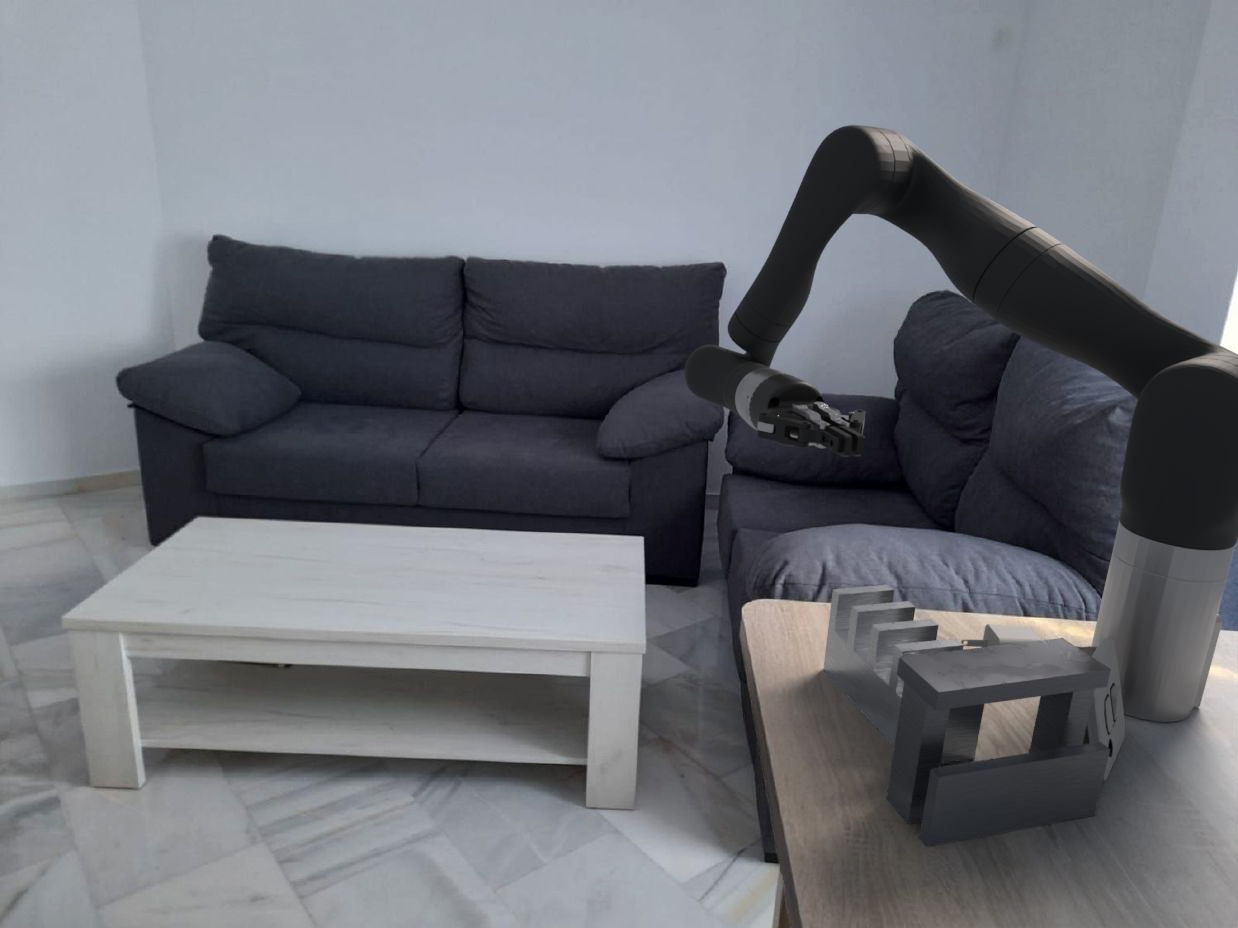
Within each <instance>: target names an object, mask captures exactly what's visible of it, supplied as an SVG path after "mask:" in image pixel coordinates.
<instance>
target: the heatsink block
mask: <svg viewBox="0 0 1238 928" xmlns="http://www.w3.org/2000/svg"><path fill="white" fill-rule="evenodd" d="M894 594H895V589H894V588H893V587H891V586H890V585H888V584H879V585H869V586H867V585H866V586H860V587H859V586H858V587H857V586H856V587H845V588H834V589H832V594H831V595H832V596H831V600H830V601H831V602H830V603H831V604H830V609H829V610H830V611H829V620H828V627H827V628H828V629H827V637H826V643H825V653H824V661H823V669H824V670H825V671H826V672H825V671H824V670H823V669H822V670H823V671H824V672H825V673H826V674H827V675H828V677H830V678H831V679H832V680H833V682H834V683H835V684H836V685H837V686H838V687H839V688H840V689H841V690H842V692H843V693H845V695H846V696H847V698H849V699H850V701H851V702H852V703H854V705H855V706H856V707H857V708H858V709H859V710H860V712H861V713H862V714H863V715H864V716H865V717H866V718H867V719H868V720H869V722H871V724H872V725H873V724H874V725H873V726H875V728H876V729H877V728H878V729H879V730H878V729H877V730H878V731H879V732H880V733H881V735H882V736H883V735H884V736H883V737H884V738H885V739H886V740H887V741H888V742H889V743H890V744H891V746H892V747H893V748H894V745H895V738H896V731H897V725H898V718H899V712H900V705H901V699H902V692H903V685H904V681H903V680H902V679H901V678H900V677H899V676H898V675H897V670H898V663H899V657H905V656H913V655H922V654H930V653H939V652H947V651H956V650H964V647H965V646H964V645H963V644H964V643H963V644H962V643H961V641H960V640H958V639H957V637H956V638H945V639H944V638H943V639H937V637H938V633H939V632H938V631H939V624H938V623H937V622H936V621H934V620H933V619H932V618H927V619H916V620H915V614H916V613H915V612H916V605H914V604H913V603H911V601H910V600H907V601H906V600H905V601H904V600H903V601H896V602H895V601H894V596H895V595H894ZM893 601H894V602H893ZM984 709H985V704H981V705H973V706H966V707H959V708H952V709H950V710H949V716H948V722H947V728H946V734H945V739H944V745H943V751H942V757H941V763H940V764H945V763H953V762H960V761H965V760H966V761H968V760H974V759H975V757H976V753H977V748H978V741H979V737H980V736H979V735H980V730H981V725H982V719H983V713H984Z"/></svg>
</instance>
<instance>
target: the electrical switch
mask: <svg viewBox="0 0 1238 928" xmlns="http://www.w3.org/2000/svg"><path fill="white" fill-rule="evenodd" d="M1075 646H1076V647H1077V648H1079V649H1080V650H1082V651H1083V652H1085V653H1086V654H1088V655H1090V656H1091V657H1093V658H1094V659H1096V660H1097V661H1099V662H1100V663H1102V664H1103V665H1105V666H1106V667H1108V668H1109V669H1111V672H1110V676H1109V680H1108V685H1107V687H1103V688H1096V689H1095V691H1094V695H1093V699H1092V704H1091V708H1090V713H1089V717H1088V722H1087V726H1086V730H1085V735H1084V739H1083V744H1089V743H1096V742H1101V743H1102V744H1104V745H1105V746H1106V747H1108V748H1109V749H1110V753H1109V757H1108V761H1107V765H1106V770H1105V774H1104V778H1103V782H1107V780H1108V777H1109V775H1110V773H1111V771H1112V768H1113V766H1114V764H1115V761H1116V758H1117V756H1118V754H1119V752H1120V749H1121V747H1122V745H1123V742H1124V739H1125V738H1126V723H1125V722H1126V721H1125V713H1124V710H1123V702H1122V694H1121V685H1120V677H1119V669H1118V662H1117V656H1116V649H1115V643H1114V641H1113V640H1111V639H1104V638H1102V640H1101V642H1100V644H1099V645H1098V647H1091V645H1090V646H1077V645H1075ZM1083 744H1082V745H1083Z"/></svg>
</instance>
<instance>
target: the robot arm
mask: <svg viewBox="0 0 1238 928" xmlns="http://www.w3.org/2000/svg"><path fill="white" fill-rule="evenodd" d="M799 184H800V185H799V187H798V189H797V192H796V195H795V197H794V199H793V201H792V203H791V206H790V208H789V210H788V213H787V215H786V216H785V219H784V222H783V224H782V225H781V229H780V231H779V233H778V235H777V237H776V240H775V242H774V244H773V246H772V248H771V250H770V253H769V255H768V257H767V259H766V260H765V262H764V264H763V266H762V267H761V269H760V271H759V272H758V274H757V276H756V277H755V279H754V280H753V282H752V283H751V285H750V287H749V288H748V290H747V291H746V293H745V295H744V296H743V298H742V300H741V301H739V304H738V305H737V307H736V309H735V310H734V312H733V313H732V315H731V316H730V318H729V321H728V323H727V333H728V335H729V338H730V339H731V341H732V342H733V343H734V344H735V345H736V346H737V347H739V348H740V349H742V350H743V351H744V352H745V353H741V352H738V351H734V350H731V349H728V348H725V347H722V346H719V345H716V344H705V345H701V346H699V347H698V348H695V350H693V351H692V352H691V353H690V354H689V357H688V358H687V360H686V362H685V366H684V381H685V384H686V386H687V387H688V389H689V391H690V392H691V393H692V394H693V395H695V396H696V397H698V398H700V399H702V400H704V401H708V402H710V403H712V404H715V405H718V406H721V407H723V408H725V409H727V410H729V411H731V412H732V413H733V414H734V415H736V416H737V417H738V418H741V419H742V420H744V422H746V423H747V424H748V425H749V427H751V428H752V429H754V430H756V437H757V438H760V439H766V440H770V441H773V442H775V443H776V444H778V445H780V446H785V447H795V446H796V447H799V448H803V449H805V448H809V446H815V448H818V449H828V450H830V451H831V452H833V453H835V454H837V455H838V456H840V457H842V458H843V457H850V456H852V457H861V456H862V455H863V452H864V451H865V444H866V436H865V435H864V429H865V421H866V413H867V411H865V410H864V409H854V411H849V412H848V415H846V414H842V413H841V411H840V410H839V409H837V408H835V407H831V406H829V405H828V404H827V403H826V401H825V400H824V398H823V396H822V394H821V392H820V391H819V390H818V389H817V388H816V387H815V385H813V384H811V383H809V382H807V381H804V380H803V379H800V378H799V377H796V376H794V375H793V374H790V373H787V372H785V371H784V370H783V371H782V370H779V369H775V368H772V367H771V364H772V362H773V361H774V357H775V354H776V352H777V349H778V347H779V345H780V344H781V342H782V341H783V339H784V338H785V336H787V333H788V332H789V331H790V329H791V328H792V327H793V325H794V324H795V322H796V321H797V319H798V318H799V316H800V314H801V313H802V312H803V310H804V307H805V306H806V304H807V302H808V300H809V297H810V295H811V291H812V287H813V282H814V277H815V273H816V270H817V266H818V262H819V261H820V258H821V256H822V254H823V252H824V250H825V248H826V246H827V245H828V243H829V242H830V241H831V239H832V238H833V237H834V235H835V234H836V233H837V231H839V229H840V228H841V227H842V226H843V225H844V224H845V223H846V222H847V221H848V220H849V219H850V217H851V216H852V215H871V216H873V217H874V216H875V217H878V218H880V219H883V220H884V221H886V222H889V223H890V224H892V225H893V226H895V227H897V228H899V229H901V230H902V231H904V232H905V233H906V234H909V235H910V236H912V237H913V238H915V239H916V240H917V241H919V242H920V243H921V244H922V245H923V246H925V247H926V248H927V249H928V251H929V252H930V253H931V254H932V255H933V257H934V258H935V259H936V262H938V264H939V265H940V267H941V269H942V271H943V273H945V275H946V276H947V278H948V279H949V281H950V282H951V284H953V286H954V287H955V288H956V290H958V292H960V293H961V295H963V296H964V297H965V298H966V299H967V300H968V301H970V303H972V304H973V305H975V306H976V307H978V308H979V310H981V311H982V312H984V313H985V314H987V315H988V316H989V317H991V318H992V319H994V320H995V321H996V322H997V323H999V324H1000V325H1002V326H1004V327H1005V328H1007V329H1008V330H1010V331H1011V332H1013V333H1015V334H1017V335H1019V336H1020V337H1022V338H1024V339H1026V340H1028V341H1030V342H1032V343H1034V344H1037V345H1039V346H1041V347H1044V348H1046V349H1048V350H1050V351H1053V352H1056V353H1058V354H1061V355H1063V356H1066V357H1067V358H1070V359H1073V360H1075V361H1077V362H1079V363H1082V364H1084V365H1087V366H1088V367H1091V368H1093V369H1094V370H1097V371H1098V372H1100V373H1102V374H1103V375H1105V376H1106V377H1108V378H1109V379H1111V380H1112V381H1114V382H1115V384H1118V385H1119V386H1120V387H1121V388H1123V389H1124V390H1125V391H1127V392H1128V393H1129V394H1131V396H1133V397H1134V398H1136V399H1137V401H1136V404H1135V408H1134V411H1133V414H1132V419H1131V422H1130V428H1129V433H1128V438H1127V439H1128V440H1127V443H1126V449H1125V454H1124V459H1123V465H1122V472H1121V477H1120V478H1121V479H1120V485H1119V490H1120V498H1121V509H1120V515H1119V521H1118V525H1117V529H1116V535H1115V537H1114V543H1113V548H1112V553H1111V557H1110V562H1109V566H1108V570H1107V575H1106V579H1105V584H1104V588H1103V593H1102V596H1101V597H1102V598H1101V602H1100V606H1099V609H1098V616H1097V620H1096V624H1095V629H1094V632H1093V637H1092V642H1091V645H1090V646H1091V647H1098V645H1099V644H1100V642H1101V640H1102V638H1104V639H1111V640H1113V641H1114V643H1115V649H1116V656H1117V662H1118V669H1119V677H1120V685H1121V694H1122V702H1123V710H1124V715H1125V714H1126V715H1128V716H1131V717H1136V718H1137V719H1138V718H1139V719H1144V720H1148V721H1154V722H1162V723H1165V722H1172V723H1173V722H1176V721H1177V722H1178V721H1182V720H1185V719H1187V718H1189V716H1190V715H1191V713H1192V710H1193V709H1194V708H1198V707H1201V704H1202V699H1203V695H1204V692H1205V689H1206V686H1207V685H1206V684H1207V681H1208V677H1209V673H1210V670H1211V666H1212V662H1213V658H1214V656H1215V652H1216V651H1215V650H1216V648H1217V643H1218V640H1219V637H1220V633H1221V629H1222V625H1223V620H1224V619H1223V617H1222V615H1221V614H1220V613H1219V610H1220V607H1221V602H1222V599H1223V596H1224V591H1225V587H1226V584H1227V581H1228V576H1229V573H1230V568H1231V565H1232V561H1233V557H1234V553H1235V550H1236V546H1237V542H1238V353H1236V352H1235V351H1233V350H1230V349H1229V348H1226V347H1225V346H1222V345H1220V344H1217V342H1213V341H1212V340H1210V339H1208V338H1206V337H1204V336H1202V335H1201V334H1198V333H1196V332H1194V331H1192V330H1190V329H1189V328H1187V327H1185V326H1183V325H1181V324H1179V323H1178V322H1176V321H1174V320H1173V319H1170V318H1168V317H1167V316H1165V315H1163V314H1162V313H1160V312H1158V311H1157V310H1155V309H1154V308H1152V307H1151V306H1149V305H1148V304H1146V303H1145V302H1144V301H1142V300H1141V299H1140V298H1139V297H1137V296H1136V295H1135V294H1134V293H1132V292H1130V290H1128V289H1127V288H1125V286H1123V285H1122V284H1120V282H1117V281H1116V280H1115V279H1114V278H1112V277H1111V276H1110V275H1108V274H1106V273H1105V272H1104V271H1103V270H1101V269H1100V268H1099V267H1098V266H1095V265H1094V264H1093V263H1091V262H1090V261H1088V260H1086V259H1085V258H1084V257H1083V256H1081V255H1080V254H1079V253H1077V252H1076V251H1074V250H1073V249H1072V248H1070V247H1069V246H1067V245H1066V244H1064V243H1063V242H1061V241H1060V240H1058V239H1056V238H1055V237H1053V236H1052V235H1051V234H1049V233H1047V232H1046V231H1044V230H1042V229H1041V228H1040V227H1038V226H1037V225H1035V224H1033V223H1032V222H1030V221H1028V220H1026V219H1025V218H1023V217H1021V216H1019V215H1018V214H1016V213H1014V212H1013V211H1011V210H1010V209H1007V208H1006V207H1004V206H1003V205H1001V204H999V203H997V202H995V201H994V200H991V199H990V198H988V197H986V196H985V195H983V194H980V193H979V192H977V191H974V190H973V189H971V188H969V187H967V186H966V185H965V184H963V183H962V182H960V181H959V180H957V179H956V178H955V177H954V176H953V175H951V174H950V173H948V171H947V170H945V169H944V168H943V167H942V166H941V165H939V164H938V163H937V162H936V161H935V160H933V159H932V158H931V157H930V156H929V155H927V154H926V152H924V151H923V150H922V149H920V148H919V146H917V145H916V144H915V143H914V142H913V141H911V140H910V139H909V138H908V137H906V136H905V135H903V134H901V133H900V132H897V131H895V130H892V129H889V128H888V129H887V128H882V127H877V126H876V127H875V126H869V125H856V124H851V125H844V126H841V127H838V128H836V129H835V130H833V131H832V132H830V133H829V134H828V135H827V136H826V137H825V138H823V140H822V141H821V143H820V144H819V145H818V147H817V149H816V150H815V152H814V154H813V156H812V158H811V160H810V162H809V163H808V166H807V169H806V171H805V172H804V175H803V178H802V179H801V182H800V183H799Z"/></svg>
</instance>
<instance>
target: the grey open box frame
mask: <svg viewBox="0 0 1238 928" xmlns="http://www.w3.org/2000/svg"><path fill="white" fill-rule="evenodd" d="M1076 646H1077V645H1075V644H1073V643H1071V642H1069V641H1068V640H1067V639H1065V638H1064V637H1060V638H1059V637H1058V638H1051V639H1050V638H1048V639H1042V640H1040V641H1032V642H1023V643H1015V644H1006V645H998V646H989V647H974V648H967V649H966V648H965V649H964V648H963V650H956V651H947V652H939V653H930V654H922V655H913V656H905V657H899V663H898V670H897V675H898V676H899V677H900V678H901V679H902V680H903V681H904V685H903V692H902V699H901V705H900V712H899V718H898V725H897V731H896V738H895V745H894V747H893V752H892V760H891V767H890V771H889V776H888V777H889V779H888V786H887V790H886V791H887V792H886V800H887V801H888V802H889V803H890V805H891V806H893V808H894V809H895V810H896V812H898V814H899V815H900V816H901V818H903V820H904V821H905V822H906V823H907V824H913V823H919V822H921V826H920V831H919V839H920V840H921V841H922V842H923V843H924V845H926V847H932V846H937V845H943V844H949V843H954V842H959V841H964V840H969V839H974V838H975V839H976V838H981V837H984V836H985V837H986V836H991V835H996V834H1002V833H1007V832H1013V831H1018V830H1024V829H1029V828H1035V827H1039V826H1046V825H1050V824H1055V823H1060V822H1061V823H1062V822H1067V821H1072V820H1077V819H1083V818H1089V817H1094V816H1095V815H1096V812H1097V808H1098V807H1097V806H1098V803H1099V798H1100V794H1101V790H1102V785H1103V782H1104V781H1103V778H1104V774H1105V770H1106V765H1107V761H1108V757H1109V753H1110V749H1109V748H1108V747H1106V746H1105V745H1104V744H1102V743H1101V742H1096V743H1089V744H1083V739H1084V735H1085V730H1086V726H1087V722H1088V717H1089V713H1090V708H1091V704H1092V699H1093V695H1094V691H1095V689H1096V688H1103V687H1107V685H1108V680H1109V676H1110V672H1111V669H1109V668H1108V667H1106V666H1105V665H1103V664H1102V663H1100V662H1099V661H1097V660H1096V659H1094V658H1093V657H1091V656H1090V655H1088V654H1086V653H1085V652H1083V651H1082V650H1080V649H1079V648H1077V647H1078V646H1077V647H1076ZM1037 697H1039V703H1038V707H1037V712H1036V716H1035V721H1034V727H1033V731H1032V736H1031V741H1030V747H1029V751H1028V752H1027V753H1021V754H1015V755H1014V754H1013V755H1009V756H1003V757H997V758H990V759H983V760H982V759H981V760H978V761H970V762H964V763H957V764H952V765H946V766H945V765H944V766H941V764H942V763H941V757H942V751H943V745H944V739H945V734H946V728H947V722H948V716H949V710H950V709H952V708H959V707H966V706H973V705H981V704H984V705H986V704H992V703H1001V702H1008V701H1009V702H1010V701H1015V700H1022V699H1024V700H1025V699H1030V698H1037ZM1082 744H1083V745H1082Z"/></svg>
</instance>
